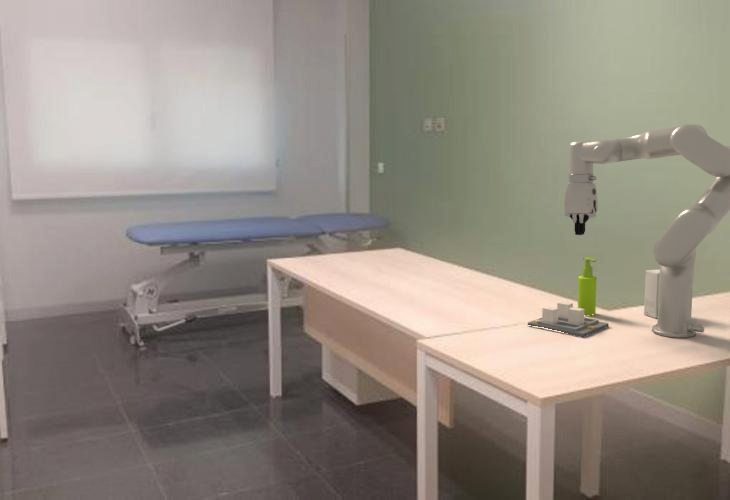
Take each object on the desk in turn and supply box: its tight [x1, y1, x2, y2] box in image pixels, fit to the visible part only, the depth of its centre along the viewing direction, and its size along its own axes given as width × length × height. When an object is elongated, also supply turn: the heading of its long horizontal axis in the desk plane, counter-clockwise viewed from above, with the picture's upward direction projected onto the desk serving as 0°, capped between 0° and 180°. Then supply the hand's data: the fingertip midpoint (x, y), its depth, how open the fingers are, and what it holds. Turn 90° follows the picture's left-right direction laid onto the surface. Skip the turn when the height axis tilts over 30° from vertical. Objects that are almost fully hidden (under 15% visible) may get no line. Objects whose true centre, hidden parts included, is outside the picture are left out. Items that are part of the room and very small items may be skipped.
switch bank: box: [527, 316, 610, 338], centre depth 223 cm, size 20×16×2 cm
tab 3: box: [568, 306, 585, 325], centre depth 221 cm, size 4×3×5 cm
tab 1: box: [541, 306, 558, 324], centre depth 222 cm, size 4×3×5 cm
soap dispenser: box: [577, 256, 597, 315], centre depth 236 cm, size 6×7×20 cm
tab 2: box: [556, 301, 574, 318], centre depth 228 cm, size 4×3×5 cm
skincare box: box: [643, 269, 660, 319], centre depth 232 cm, size 8×7×16 cm
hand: (579, 234), depth 227 cm, fingers closed
